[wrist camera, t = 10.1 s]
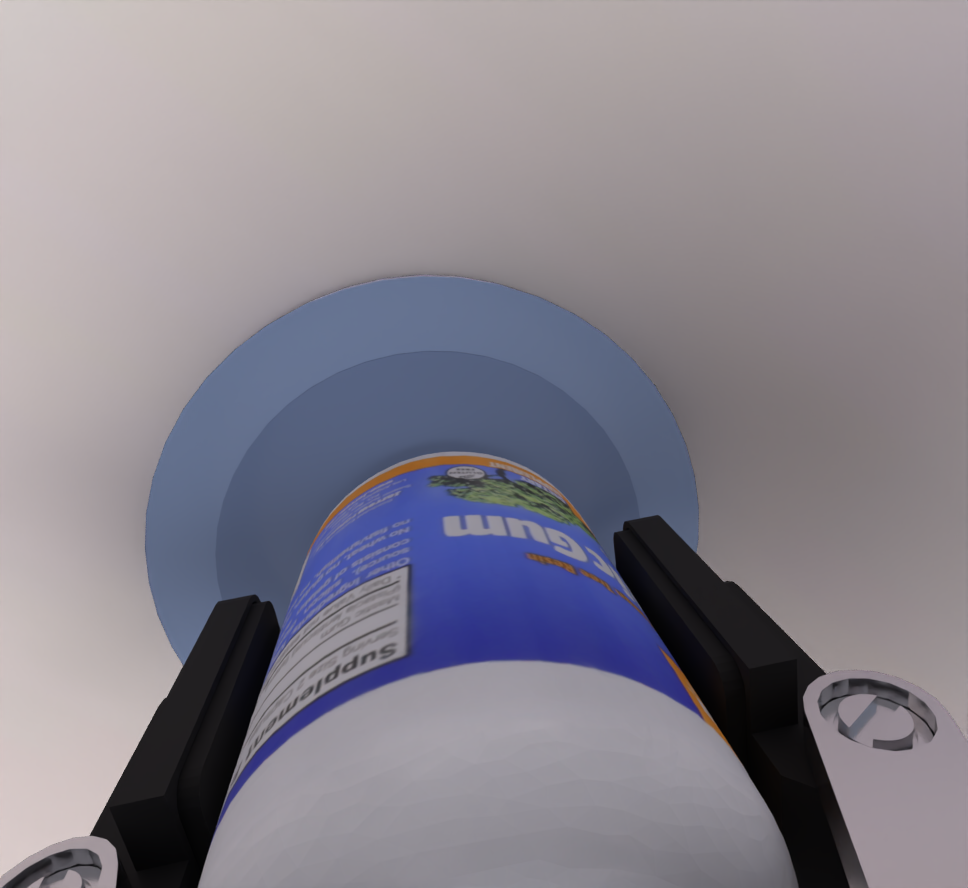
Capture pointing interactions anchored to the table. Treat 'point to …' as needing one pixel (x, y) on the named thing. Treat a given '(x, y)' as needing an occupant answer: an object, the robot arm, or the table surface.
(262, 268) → the table surface
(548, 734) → the pill bottle
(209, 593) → the dish
